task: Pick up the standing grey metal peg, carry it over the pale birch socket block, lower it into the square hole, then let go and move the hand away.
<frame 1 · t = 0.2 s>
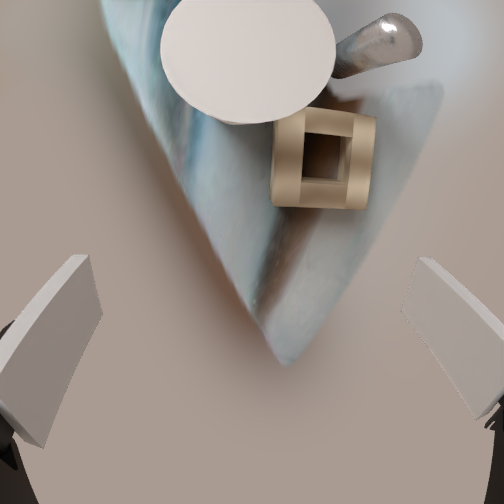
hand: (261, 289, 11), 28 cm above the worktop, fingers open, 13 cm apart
cylindrical container: (236, 97, 32), on the worktop
peg: (336, 63, 30), on the worktop
socket block: (317, 155, 36), on the worktop
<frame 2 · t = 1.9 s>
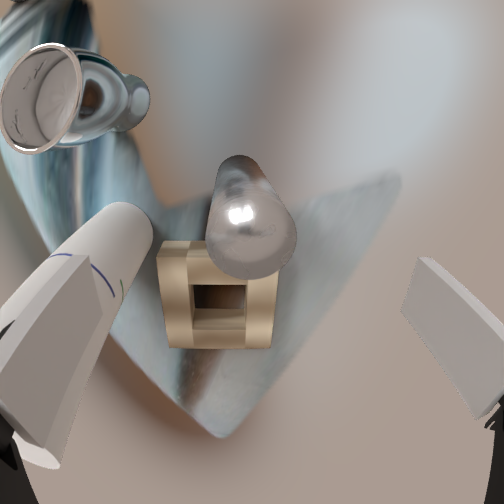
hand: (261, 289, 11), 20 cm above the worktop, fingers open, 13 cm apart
cylindrical container: (123, 232, 30), on the worktop
peg: (239, 176, 28), on the worktop
socket block: (219, 288, 34), on the worktop
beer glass: (122, 102, 24), on the worktop
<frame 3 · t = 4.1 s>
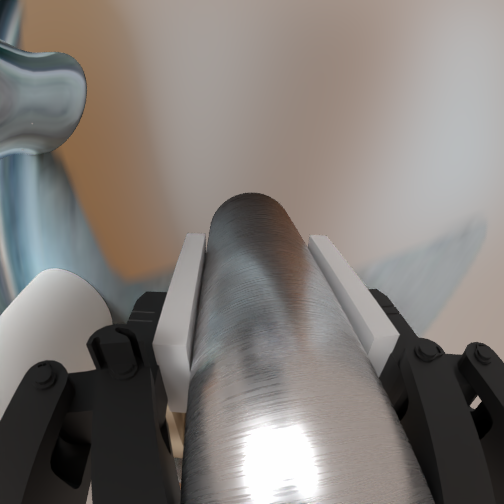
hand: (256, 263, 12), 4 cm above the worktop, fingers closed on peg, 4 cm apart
cylindrical container: (69, 310, 17), on the worktop
peg: (250, 232, 16), on the worktop, touching gripper
socket block: (218, 387, 21), on the worktop
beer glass: (46, 102, 12), on the worktop
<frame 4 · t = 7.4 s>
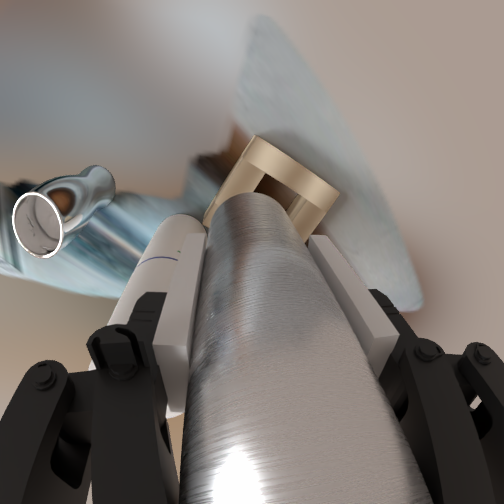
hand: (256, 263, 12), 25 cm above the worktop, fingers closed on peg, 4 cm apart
cylindrical container: (181, 238, 39), on the worktop
peg: (250, 231, 16), point 22 cm above the worktop, touching gripper
socket block: (268, 198, 37), on the worktop
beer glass: (96, 186, 34), on the worktop
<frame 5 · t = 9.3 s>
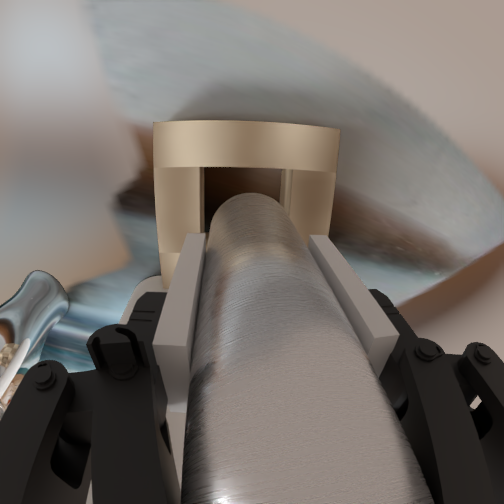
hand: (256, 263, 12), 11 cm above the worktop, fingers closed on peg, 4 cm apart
cylindrical container: (166, 306, 27), on the worktop
peg: (250, 232, 16), point 8 cm above the worktop, touching gripper
socket block: (242, 197, 23), on the worktop
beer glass: (47, 293, 25), on the worktop
when the fingers open (5 cm above the worktop, at t = 11.0 s): peg drops 1 cm, resting in socket block.
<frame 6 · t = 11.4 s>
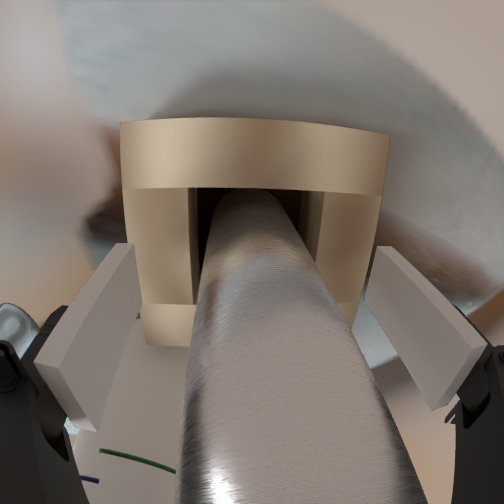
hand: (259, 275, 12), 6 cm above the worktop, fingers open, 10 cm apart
cylindrical container: (156, 351, 21), on the worktop
peg: (248, 223, 17), resting in socket block
socket block: (248, 223, 17), on the worktop
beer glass: (21, 327, 20), on the worktop
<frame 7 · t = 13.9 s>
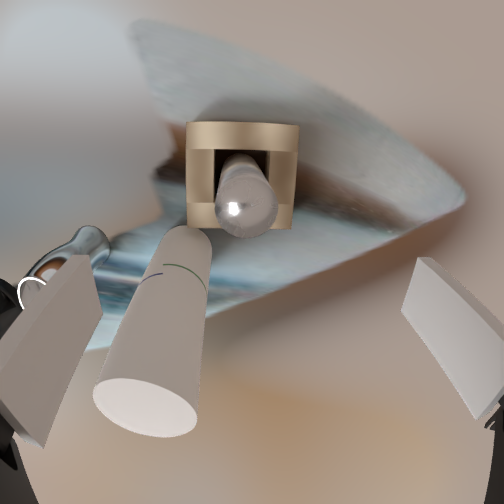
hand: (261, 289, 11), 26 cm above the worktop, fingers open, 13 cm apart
cylindrical container: (185, 249, 38), on the worktop
peg: (240, 170, 34), resting in socket block
socket block: (240, 170, 34), on the worktop
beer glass: (92, 244, 37), on the worktop
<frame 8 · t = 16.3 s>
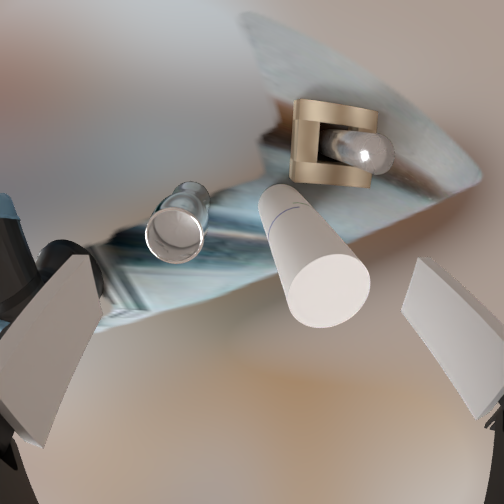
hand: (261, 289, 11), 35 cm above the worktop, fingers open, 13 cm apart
cylindrical container: (280, 205, 46), on the worktop
peg: (329, 142, 41), resting in socket block
socket block: (329, 142, 41), on the worktop
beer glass: (190, 199, 44), on the worktop
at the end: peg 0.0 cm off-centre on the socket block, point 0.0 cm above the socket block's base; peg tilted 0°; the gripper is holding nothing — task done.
